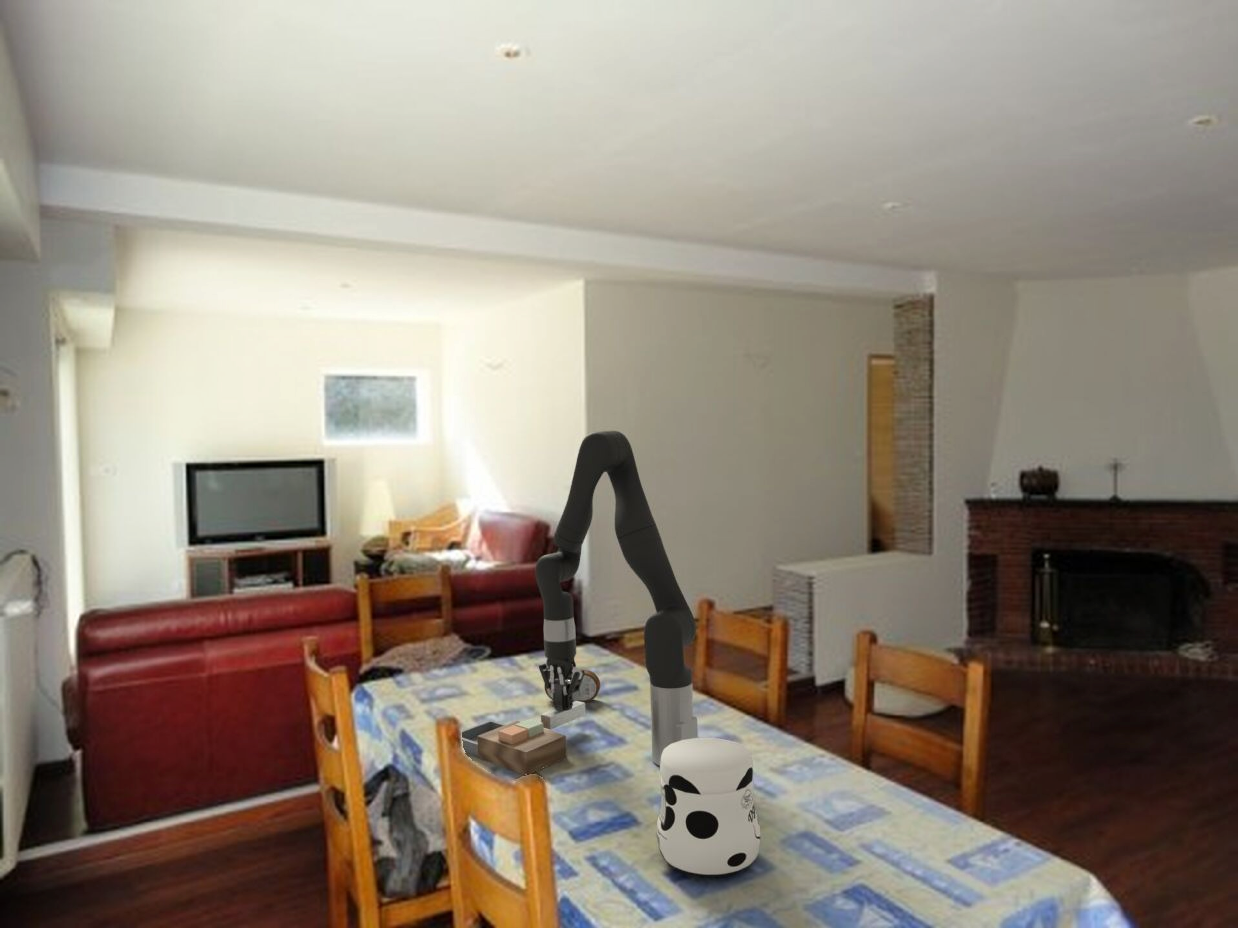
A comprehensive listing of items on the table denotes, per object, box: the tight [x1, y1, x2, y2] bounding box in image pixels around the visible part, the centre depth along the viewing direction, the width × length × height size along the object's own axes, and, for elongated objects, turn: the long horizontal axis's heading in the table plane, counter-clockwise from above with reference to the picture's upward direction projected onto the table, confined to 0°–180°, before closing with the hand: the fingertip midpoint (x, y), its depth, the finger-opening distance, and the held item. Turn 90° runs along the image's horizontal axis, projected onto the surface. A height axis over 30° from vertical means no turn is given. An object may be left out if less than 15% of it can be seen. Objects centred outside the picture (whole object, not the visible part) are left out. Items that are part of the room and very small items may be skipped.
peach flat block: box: [498, 725, 527, 744], centre depth 184 cm, size 4×4×2 cm
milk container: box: [656, 737, 761, 878], centre depth 139 cm, size 17×17×18 cm
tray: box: [461, 719, 507, 759], centre depth 195 cm, size 10×12×3 cm
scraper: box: [540, 682, 587, 731], centre depth 198 cm, size 3×12×9 cm, turn 139°
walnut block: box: [477, 720, 568, 776], centre depth 186 cm, size 16×12×5 cm
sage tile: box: [515, 718, 545, 737], centre depth 188 cm, size 4×4×2 cm
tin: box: [543, 669, 601, 703], centre depth 224 cm, size 15×3×8 cm, turn 84°
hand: (563, 707), depth 198 cm, fingers closed on scraper, 2 cm apart
